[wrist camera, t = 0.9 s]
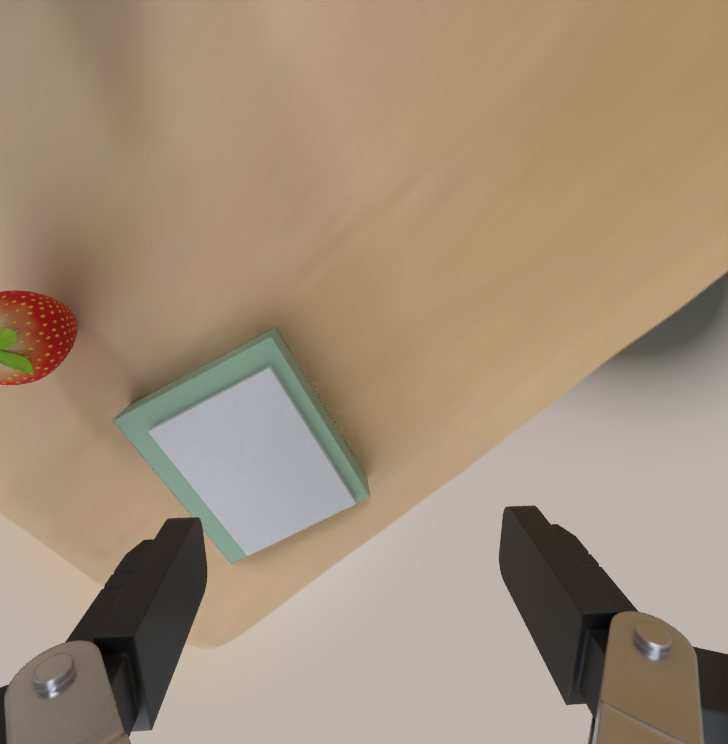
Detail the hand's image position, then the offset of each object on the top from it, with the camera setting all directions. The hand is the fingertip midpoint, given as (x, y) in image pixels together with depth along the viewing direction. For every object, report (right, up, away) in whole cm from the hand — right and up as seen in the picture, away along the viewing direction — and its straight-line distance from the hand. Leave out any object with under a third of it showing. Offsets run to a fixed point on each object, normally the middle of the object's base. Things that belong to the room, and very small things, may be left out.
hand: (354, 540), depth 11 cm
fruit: (-20, +8, +17) cm, 27 cm away
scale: (-8, -1, +21) cm, 22 cm away
